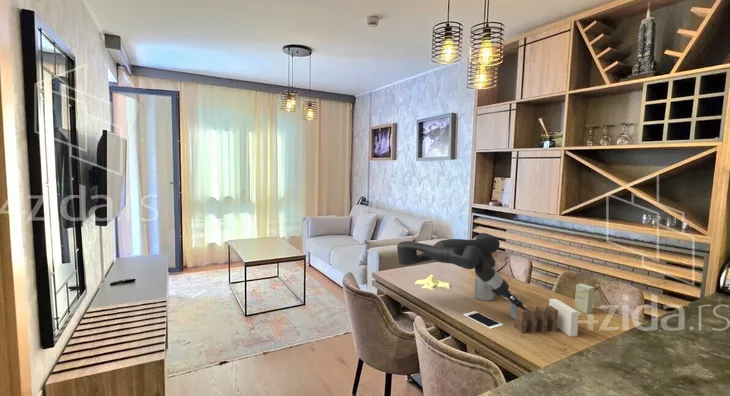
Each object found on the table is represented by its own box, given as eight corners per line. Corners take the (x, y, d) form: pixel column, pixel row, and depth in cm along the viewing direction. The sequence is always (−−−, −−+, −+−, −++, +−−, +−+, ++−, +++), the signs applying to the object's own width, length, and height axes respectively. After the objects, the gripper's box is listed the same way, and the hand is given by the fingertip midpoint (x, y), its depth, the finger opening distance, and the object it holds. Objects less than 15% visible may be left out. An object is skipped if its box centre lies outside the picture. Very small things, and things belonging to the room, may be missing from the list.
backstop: (570, 336, 139) (571, 312, 138) (548, 321, 153) (549, 298, 152) (577, 336, 139) (578, 311, 138) (554, 320, 153) (555, 298, 152)
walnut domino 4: (552, 331, 143) (553, 310, 142) (544, 326, 148) (545, 305, 147) (556, 331, 143) (558, 310, 142) (549, 326, 148) (550, 305, 147)
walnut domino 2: (531, 332, 142) (532, 311, 141) (524, 327, 147) (525, 306, 146) (536, 332, 142) (537, 311, 141) (529, 326, 147) (530, 306, 146)
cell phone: (475, 312, 163) (475, 310, 163) (503, 325, 149) (503, 324, 149) (462, 315, 159) (462, 314, 159) (490, 329, 145) (490, 328, 145)
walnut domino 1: (521, 333, 141) (522, 311, 140) (514, 327, 146) (515, 306, 145) (525, 333, 141) (526, 311, 141) (519, 327, 146) (520, 306, 146)
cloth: (457, 288, 195) (457, 277, 194) (429, 293, 187) (430, 282, 186) (432, 277, 215) (433, 267, 214) (407, 281, 207) (407, 271, 206)
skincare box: (573, 309, 165) (575, 284, 164) (579, 307, 167) (580, 282, 166) (587, 314, 160) (589, 288, 159) (593, 312, 162) (594, 286, 161)
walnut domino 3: (542, 332, 142) (543, 310, 141) (534, 326, 147) (535, 306, 146) (546, 332, 142) (547, 310, 142) (539, 326, 147) (540, 305, 147)
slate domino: (516, 320, 153) (517, 300, 152) (510, 315, 158) (511, 296, 157) (520, 320, 153) (521, 300, 152) (514, 315, 158) (515, 296, 157)
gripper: (482, 283, 160) (504, 306, 162) (497, 294, 146) (521, 319, 148) (493, 271, 160) (516, 295, 162) (509, 281, 146) (534, 307, 148)
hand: (518, 306), depth 155 cm, fingers open, 8 cm apart
